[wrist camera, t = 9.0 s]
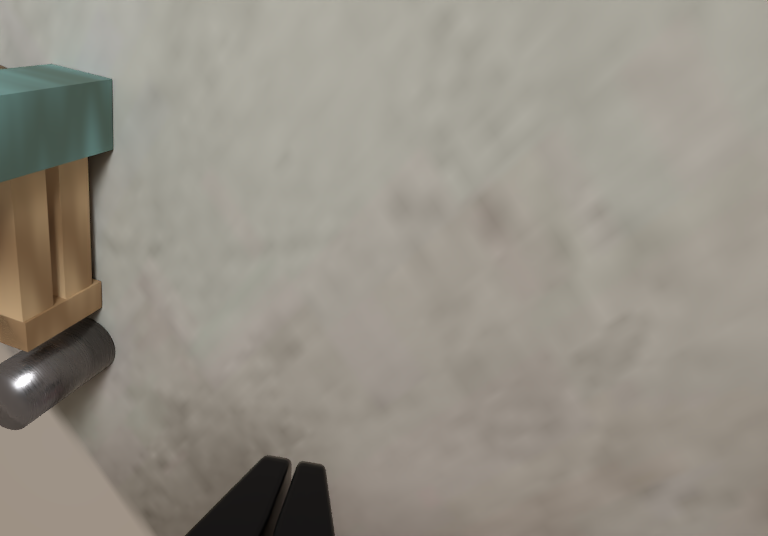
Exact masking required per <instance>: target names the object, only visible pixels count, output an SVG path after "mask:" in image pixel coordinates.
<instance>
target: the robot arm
mask: <svg viewBox="0 0 768 536" xmlns="http://www.w3.org/2000/svg"><path fill="white" fill-rule="evenodd" d="M185 536H335V533H334V526H333V519H332V512H331V505H330V498H329V491H328V484H327V477H326V470H325V467H324V466H323V465H321V464H316V463H311V462H305V461H301V462H299V464H298V465H297V467H296V470H295V473H294V475H293V478H292V481H291V461H290V460H289V459H287V458H282V457H276V456H271V455H267V456H264V457H263V458H262V459H261V460H260V461H259V462H258V463H257V464H256V465H255V466H254V467H253V468H252V469H251V470H250V471H249V472H248V473H247V474H246V475H245V476H244V477H243V478H242V479H241V480H240V481H239V482H238V483H237V484H236V485H235V486H234V487H233V488H232V489H231V490H230V491H229V492H228V493H227V494H226V495H225V496H224V497H223V498H222V499H221V500H220V501H219V502H218V503H217V504H216V505H215V506H214V507H213V508H212V509H211V510H210V511H209V512H208V513H207V514H206V515H205V516H204V517H203V518H202V519H201V520H200V521H199V522H198V523H197V524H196V525H195V526H194V527H193V528H192V529H191V530H190V531H189V532H188V533H187V534H186V535H185Z"/></svg>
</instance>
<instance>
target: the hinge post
mask: <svg viewBox="0 0 768 536" xmlns="http://www.w3.org/2000/svg"><path fill="white" fill-rule="evenodd" d="M114 356H115V348H114V344H113V341H112V339H111V337H110V335H109V334H108V332H107V331H106V330H105V329H104V328H103V327H102V326H101V325H100V324H98V323H97V322H95V321H94V320H91V319H88V318H84V319H82V320H80V321H79V322H77V323H75V324H74V325H72V326H70V327H69V328H67V329H65V330H64V331H62V332H60V333H59V334H57V335H55V336H54V337H52V338H50V339H49V340H47V341H45V342H44V343H42V344H41V345H39V346H37V347H36V348H34V349H32V350H31V351H29V352H26V351H23V350H22V351H21V352H19V353H17V354H16V355H14V356H12V357H11V358H9V359H7V360H6V361H4V362H2V363H1V364H0V425H1V426H2V427H5V428H7V429H11V430H19V429H22V428H24V427H25V426H27V425H28V424H29V423H31V422H32V421H34V420H35V419H36V418H38V417H39V416H40V415H42V414H43V413H45V412H46V411H47V410H49V409H50V408H51V407H53V406H54V405H56V404H57V403H58V402H60V401H61V400H62V399H64V398H65V397H66V396H68V395H69V394H71V393H72V392H73V391H75V390H76V389H77V388H79V387H80V386H81V385H83V384H84V383H86V382H87V381H88V380H90V379H91V378H92V377H94V376H95V375H97V374H98V373H99V372H101V371H102V370H103V369H105V368H106V367H107V366H109V365H110V364H111V363H112V361H113V360H114Z"/></svg>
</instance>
